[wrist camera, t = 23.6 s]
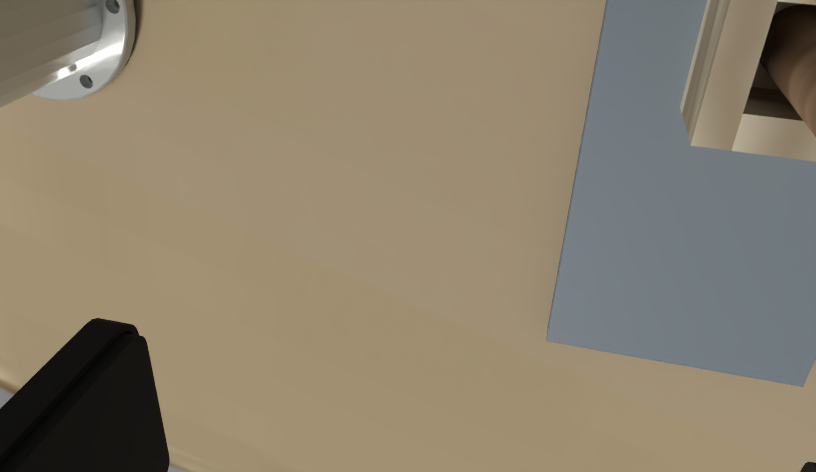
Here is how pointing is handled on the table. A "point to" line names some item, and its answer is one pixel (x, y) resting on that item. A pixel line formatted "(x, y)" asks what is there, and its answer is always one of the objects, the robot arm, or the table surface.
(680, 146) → the jig board
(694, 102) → the socket block
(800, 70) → the dowel
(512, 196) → the table surface
